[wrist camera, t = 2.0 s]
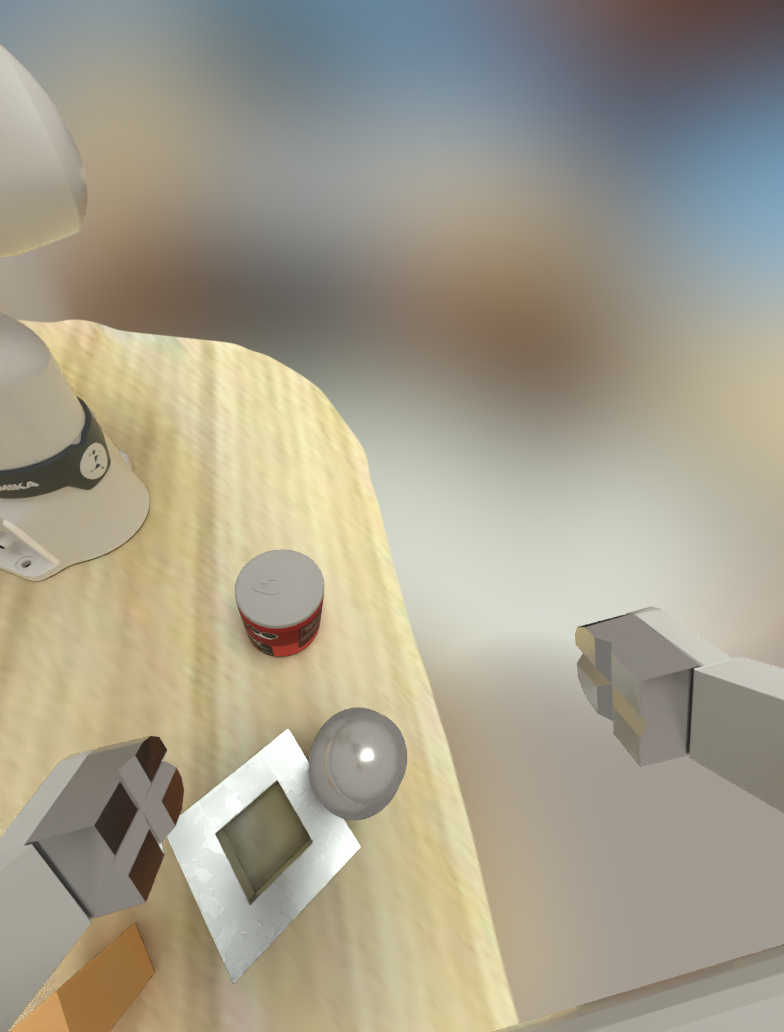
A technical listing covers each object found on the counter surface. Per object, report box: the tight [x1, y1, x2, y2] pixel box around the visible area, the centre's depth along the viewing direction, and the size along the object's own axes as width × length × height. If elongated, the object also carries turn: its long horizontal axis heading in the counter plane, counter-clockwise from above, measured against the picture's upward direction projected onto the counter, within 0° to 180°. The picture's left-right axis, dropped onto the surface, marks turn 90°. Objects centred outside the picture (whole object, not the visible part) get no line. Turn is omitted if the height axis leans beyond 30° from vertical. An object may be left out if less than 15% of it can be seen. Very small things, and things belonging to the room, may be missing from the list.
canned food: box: [235, 550, 324, 656], centre depth 40 cm, size 8×8×11 cm
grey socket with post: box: [167, 708, 407, 984], centre depth 28 cm, size 16×11×20 cm
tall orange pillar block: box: [10, 923, 154, 1032], centre depth 24 cm, size 4×4×12 cm
